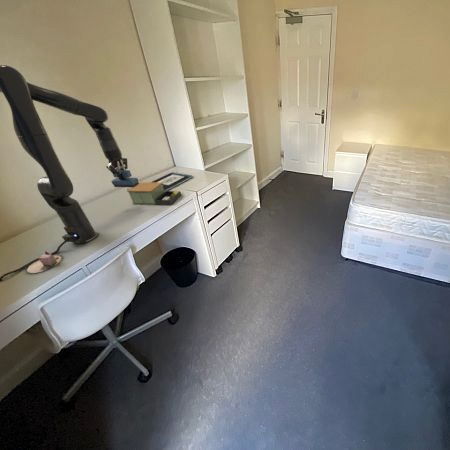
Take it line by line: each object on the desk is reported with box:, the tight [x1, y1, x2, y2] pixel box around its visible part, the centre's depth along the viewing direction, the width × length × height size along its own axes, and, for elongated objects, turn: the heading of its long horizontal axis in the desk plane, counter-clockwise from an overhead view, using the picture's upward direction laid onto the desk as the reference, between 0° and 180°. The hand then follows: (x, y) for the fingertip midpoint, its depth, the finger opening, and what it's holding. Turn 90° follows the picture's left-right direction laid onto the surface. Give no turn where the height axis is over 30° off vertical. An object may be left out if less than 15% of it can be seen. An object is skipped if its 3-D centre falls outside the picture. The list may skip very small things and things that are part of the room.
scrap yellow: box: [171, 189, 179, 197], centre depth 166 cm, size 4×4×2 cm
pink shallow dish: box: [26, 251, 62, 275], centre depth 114 cm, size 12×12×4 cm
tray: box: [154, 190, 182, 206], centre depth 164 cm, size 13×10×3 cm
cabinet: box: [126, 181, 165, 205], centre depth 163 cm, size 13×16×9 cm
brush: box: [111, 169, 139, 188], centre depth 144 cm, size 12×5×9 cm, turn 84°
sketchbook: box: [151, 171, 194, 191], centre depth 188 cm, size 22×30×2 cm
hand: (123, 178), depth 144 cm, fingers closed on brush, 2 cm apart
